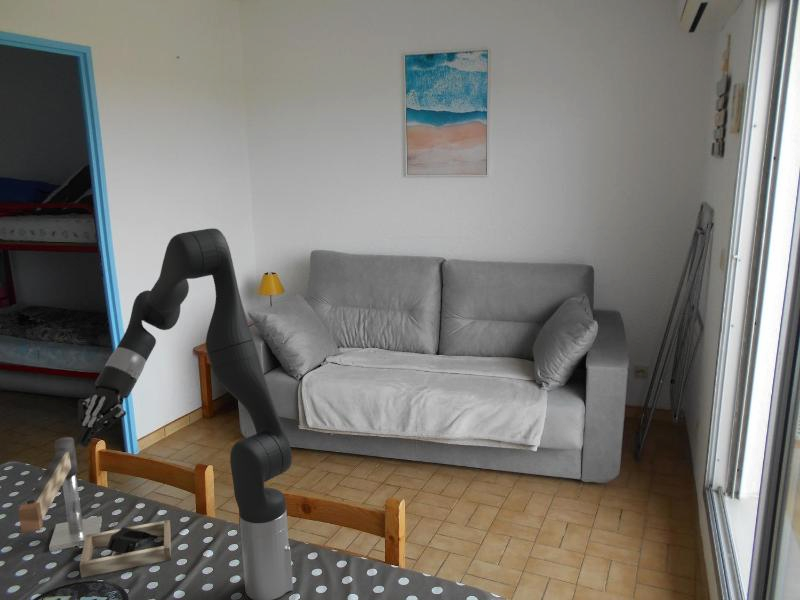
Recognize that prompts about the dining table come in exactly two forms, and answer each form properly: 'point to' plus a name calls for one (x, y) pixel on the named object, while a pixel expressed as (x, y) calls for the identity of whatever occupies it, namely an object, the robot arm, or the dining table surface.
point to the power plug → (126, 540)
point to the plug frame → (126, 559)
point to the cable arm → (48, 485)
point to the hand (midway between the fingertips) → (80, 445)
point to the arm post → (73, 520)
